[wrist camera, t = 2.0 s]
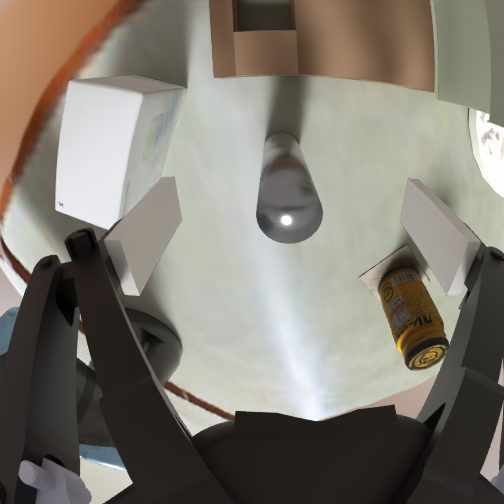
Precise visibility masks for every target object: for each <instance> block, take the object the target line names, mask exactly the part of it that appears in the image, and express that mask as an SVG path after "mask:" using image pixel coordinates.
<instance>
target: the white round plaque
mask: <svg viewBox="0 0 504 504" xmlns="http://www.w3.org/2000/svg"><path fill="white" fill-rule="evenodd" d="M489 115H490V114H487V113H484V112H480V111H477V110H474V109H471V108H469V129H470V134H471V140H472V147H473V154H474V156H475V158H476V161H477V163H478V166H479V168H480V171H481V173H482V176H483V178H484V179H485V180H486V181H487V182H488V183H489V184H490V186H491V187H492V188H493V189H494V190H495V191H496V192H497V193H498V194H499V195H501V196H502V197H504V128H503V127H501V126H498V125H496V124H493V123H490V122H489Z"/></svg>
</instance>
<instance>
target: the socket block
mask: <svg viewBox="0 0 504 504" xmlns="http://www.w3.org/2000/svg"><path fill="white" fill-rule="evenodd" d="M290 7H291V22H292V30H262V31H243V32H239V24H238V8H237V0H209V8H210V26H211V42H212V58H213V72H214V78H234V77H250V76H316V77H332V78H344V79H353V80H362V81H370V82H377V83H383V84H389V85H395V86H400V87H406V88H410V89H416V90H422V91H428V92H434V82H435V61H434V37H433V24H432V14H431V6H430V0H290Z"/></svg>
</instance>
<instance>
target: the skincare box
mask: <svg viewBox="0 0 504 504" xmlns="http://www.w3.org/2000/svg"><path fill="white" fill-rule="evenodd" d="M186 91H187V88H186V87H183V86H179V85H175V84H171V83H167V82H163V81H159V80H154V79H150V78H146V77H142V76H137V75H129V76H112V77H100V78H89V79H74V80H70V81H69V83H68V89H67V94H66V99H65V104H64V110H63V116H62V122H61V129H60V137H59V146H58V157H57V171H56V196H55V209H56V211H59V212H62V213H64V214H67V215H69V216H72V217H75V218H77V219H80V220H83V221H85V222H88V223H91V224H93V225H96V226H98V227H101V228H104V229H107V230H109V229H110V228H111V227H112V226H113V224H114V223H115V222H117V221H118V220H120V219H121V218H123V217H125V216H126V215H127V213H128V212H129V211H130V210H131V209H132V208H133V207H134V206H135V205H136V204H137V203H138V202H139V201H140V200H141V199H142V198H143V197H144V196H145V194H146V193H147V192H148V191H149V190H150V189H151V188H152V187H153V186H154V185H155V184H156V183H157V182H158V181H159V180H160V177H161V173H162V169H163V165H164V162H165V158H166V154H167V151H168V147H169V144H170V140H171V137H172V134H173V130H174V127H175V124H176V120H177V117H178V114H179V111H180V108H181V105H182V102H183V99H184V97H185V94H186Z"/></svg>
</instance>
